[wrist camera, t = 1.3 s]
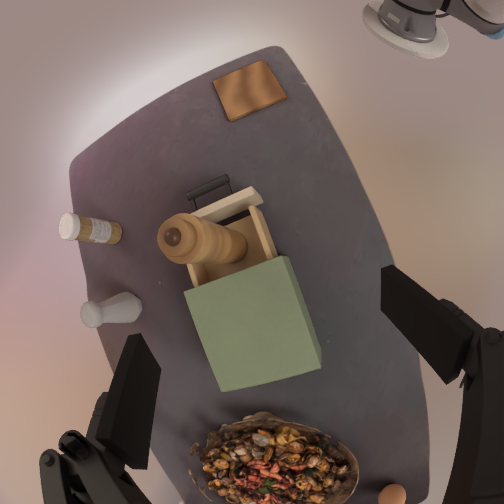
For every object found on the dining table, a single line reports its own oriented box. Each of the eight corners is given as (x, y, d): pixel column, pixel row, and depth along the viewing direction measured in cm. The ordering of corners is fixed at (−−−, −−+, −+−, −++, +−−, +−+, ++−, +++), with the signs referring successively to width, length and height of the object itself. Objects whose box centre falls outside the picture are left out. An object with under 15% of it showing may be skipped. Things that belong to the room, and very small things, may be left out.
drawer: (180, 205, 45) (162, 198, 40) (251, 172, 42) (241, 159, 37) (214, 311, 43) (199, 318, 37) (294, 284, 40) (289, 288, 35)
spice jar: (104, 239, 51) (55, 233, 37) (112, 218, 50) (62, 208, 37) (118, 248, 49) (67, 244, 36) (126, 226, 49) (75, 217, 36)
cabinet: (204, 287, 45) (183, 291, 37) (288, 256, 41) (281, 255, 34) (236, 373, 43) (221, 392, 35) (321, 350, 40) (321, 368, 32)
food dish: (195, 393, 45) (176, 410, 38) (375, 411, 38) (383, 433, 30) (200, 502, 43) (188, 520, 36) (335, 520, 36) (334, 541, 28)
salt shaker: (119, 297, 49) (71, 304, 36) (138, 285, 48) (89, 290, 35) (130, 324, 48) (83, 338, 36) (150, 314, 47) (102, 327, 34)
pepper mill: (241, 225, 41) (183, 199, 23) (252, 256, 41) (200, 252, 23) (212, 237, 42) (141, 221, 25) (222, 268, 42) (154, 271, 24)
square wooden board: (264, 61, 44) (263, 59, 43) (287, 98, 42) (286, 96, 42) (214, 83, 46) (212, 81, 45) (230, 122, 45) (229, 120, 44)
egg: (401, 490, 33) (406, 514, 25) (376, 496, 34) (379, 521, 26) (404, 475, 33) (411, 500, 25) (377, 481, 35) (381, 508, 27)
